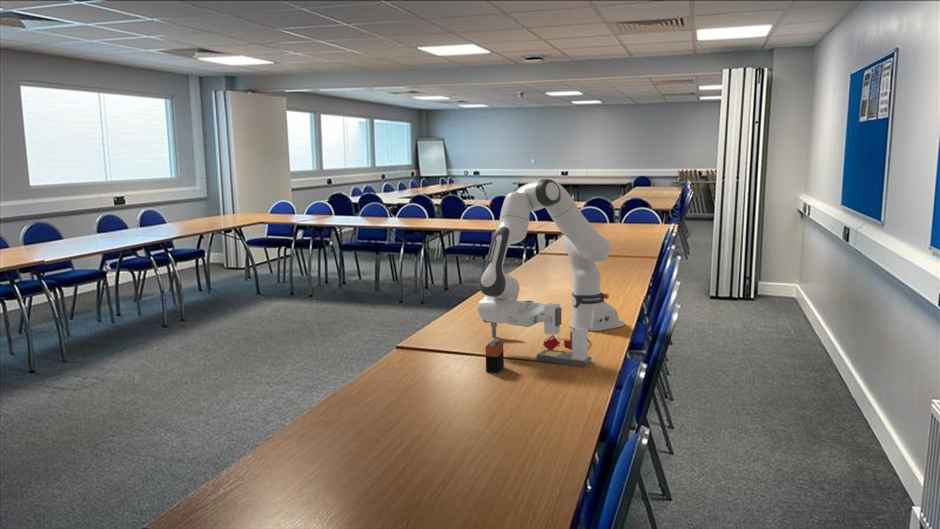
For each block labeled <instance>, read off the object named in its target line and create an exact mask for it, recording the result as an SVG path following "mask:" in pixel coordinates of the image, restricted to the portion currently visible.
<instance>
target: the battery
mask: <svg viewBox="0 0 940 529" xmlns="http://www.w3.org/2000/svg"><path fill="white" fill-rule="evenodd" d="M484 349H485V371H486V372H487V373H492V372H493V374H494V373H495V374H498V373H499V372H500V371H501V370H502V369H503V368H504V367H505V360H504V359H505V357H504V342H503V341H500V340H499V339H498V338H493V339H492V340H491V341H490V342H489V343H488V344H487V345H485V348H484Z"/></svg>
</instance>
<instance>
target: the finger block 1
mask: <svg viewBox="0 0 940 529" xmlns="http://www.w3.org/2000/svg"><path fill="white" fill-rule="evenodd" d="M545 304H546V305H544V316H551V317H552V321H551V322H543V324H544V326H543V327H544V328H543V329H544V331H543V333H544V334H545V335H551V336H552V335H553V336H555V335H558V334H560V333H561V325H562V307H561V304H559V303H553V302H549V303H545Z"/></svg>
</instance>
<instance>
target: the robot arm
mask: <svg viewBox="0 0 940 529" xmlns="http://www.w3.org/2000/svg"><path fill="white" fill-rule="evenodd" d="M542 209H546V211H547V214H549V216H550V218H551V219H552V221H553V222H554V224H555V226H556V227H557V228H558V231H560V233H562V235H564V236H565V239H564V243H563V244H564V245H563V247H564V250H565V251H566V252H567V254H568V258H569V262H570V267H571V271H572V285H573V286H572V288H573V291H572V293H571V294H572V297H571V301H572V303H571V304H572V312H571V313H572V314H571V319H570V323H569V327H570V328H572V329H575V328H576V327H579V328H587V329H588V331H590V332H591V331H592V332H600V331H605V330H612V329H616V328H619V327H620V328H621V327H624V326H625V322H623V320H621V319H620V318H619V312H618V311H617V309H616V308H614V307H613V306H612V305H611V304H609V303H608V302H606V301H605V299H606V300H608V299H609V298H610V295H609V294H608V293H603V292H601V273H600V271H599V269H598V267H597V263H596V262H602V261H605V260H606V259H607V258H608V256H609V255H610V253H611V244H610V242H609V241H608V240H607V239H606V238H605V237H604V236H603V235H601V234H600V232H599V231H598V230H597V229H596V228H595V227H594V226H593V225H592V224H591V223H590V222H589V220H588V219H587V218H586V217H585V216H584V214H583V212H581V209H580V208H579V207H578V205H577V204H576V202H575V201H574V199H573V198H572V196H571V195H570V193H569V192H568V191H567V190H566V189H565V188H564V187H563V186H562V185H561V184H560V183H557V182H556V181H555V180H553V179H549V178H542V179H540V180H535V181H530V182H528V183H526V184H524V185H520V186H518V187H516V188H515V189H514V190H513V191H512V192H509V193H508V194H506V196H505V197H504V200H503V204H502V207H501V210H500V215H499V221H498V224H497V228H496V230H495V231H494V233H493V235H492V238H491V242H490V246H489V249H488V254H487V256H486V257H487V258H486V261H485V263H484V264H485V265H484V267H483V269H482V271H481V273H480V274H479V277H478V282H477V283H478V288H479V291H480V292H481V293H482V294H483V295H484V297H482V299H480V300H479V302H478V305H477V312H478V315H479V316H480V318H481V319H482V320H483V319H484V320H486V321H489V322H494V323H497V324H507V325H509V326H518V327H524V328H531V327H532V326H534V325H535V326H536V324H539V323H544V322H551V321H552V317H551V316H544V305H546V304H547V303H542V302H535V301H534V300H525V301H524V300H523V301H522V300H518V296H519V293H520V284H519V281H518V280H517V279H516V278H514V277H512V276H511V275H509V274H506V273H505V271H504V264H505V260H506V255H507V251H508V249H509V247H510V246H511V245H515V244H518V243H520V242H522V241H523V240H524V239H525V238H526V237H527V233H528V229H529V225H530V224H529V223H530V213H531V212H536V211H540V210H542Z"/></svg>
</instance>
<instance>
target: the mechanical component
mask: <svg viewBox="0 0 940 529" xmlns="http://www.w3.org/2000/svg"><path fill="white" fill-rule="evenodd" d="M482 321H483V323H486V324H487V323H489V324H490V327H491V335H492V336H491V337H492V338H493V337H494V338H493V339H496V337H497V327H498V323H494V322H489V321H486V320H484V319H483V318H482Z"/></svg>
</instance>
